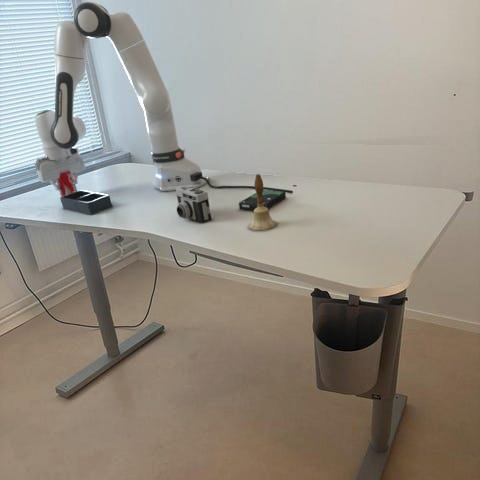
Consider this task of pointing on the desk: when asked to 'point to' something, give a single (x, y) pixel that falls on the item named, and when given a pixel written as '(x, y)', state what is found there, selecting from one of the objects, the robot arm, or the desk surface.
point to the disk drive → (268, 200)
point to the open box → (86, 202)
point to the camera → (193, 204)
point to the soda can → (66, 183)
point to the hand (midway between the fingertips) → (67, 186)
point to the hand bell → (261, 210)
